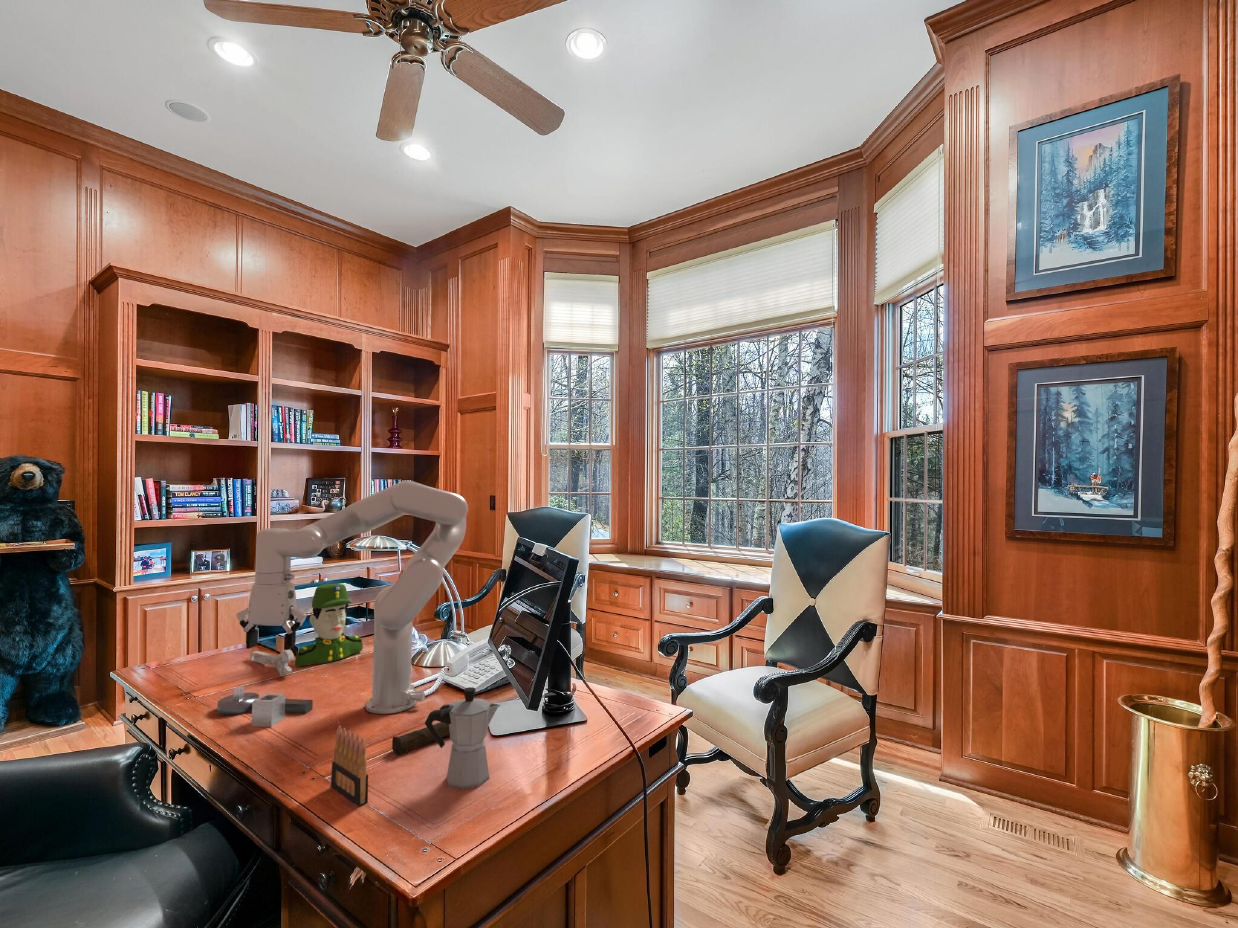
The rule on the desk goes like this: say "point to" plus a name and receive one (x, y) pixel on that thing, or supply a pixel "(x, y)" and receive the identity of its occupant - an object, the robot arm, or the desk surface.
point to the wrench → (275, 660)
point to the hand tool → (418, 738)
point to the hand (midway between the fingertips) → (270, 647)
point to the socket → (268, 710)
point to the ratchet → (243, 701)
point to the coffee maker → (465, 738)
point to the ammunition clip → (350, 767)
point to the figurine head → (329, 627)
